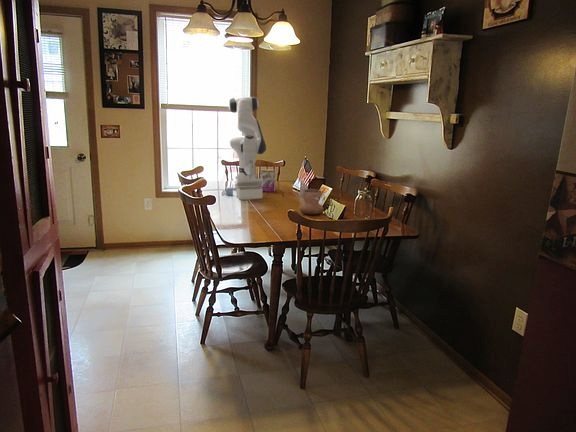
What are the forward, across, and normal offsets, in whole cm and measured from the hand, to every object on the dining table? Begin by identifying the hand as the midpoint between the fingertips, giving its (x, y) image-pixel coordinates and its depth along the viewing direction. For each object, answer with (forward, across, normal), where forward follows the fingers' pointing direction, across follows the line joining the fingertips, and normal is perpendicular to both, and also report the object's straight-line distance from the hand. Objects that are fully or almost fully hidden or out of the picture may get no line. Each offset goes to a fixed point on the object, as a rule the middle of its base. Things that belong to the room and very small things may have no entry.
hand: (249, 179), depth 305 cm
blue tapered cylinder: (+13, +14, +12) cm, 22 cm away
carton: (+13, +2, 0) cm, 13 cm away
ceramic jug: (+13, -51, -27) cm, 59 cm away
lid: (+4, +1, 0) cm, 4 cm away
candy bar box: (+13, +21, -18) cm, 31 cm away
